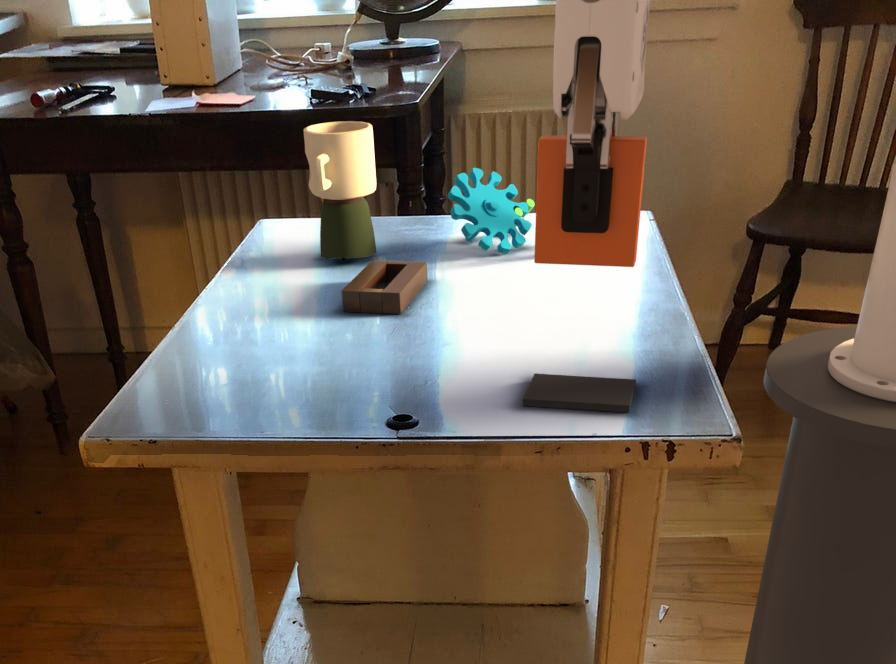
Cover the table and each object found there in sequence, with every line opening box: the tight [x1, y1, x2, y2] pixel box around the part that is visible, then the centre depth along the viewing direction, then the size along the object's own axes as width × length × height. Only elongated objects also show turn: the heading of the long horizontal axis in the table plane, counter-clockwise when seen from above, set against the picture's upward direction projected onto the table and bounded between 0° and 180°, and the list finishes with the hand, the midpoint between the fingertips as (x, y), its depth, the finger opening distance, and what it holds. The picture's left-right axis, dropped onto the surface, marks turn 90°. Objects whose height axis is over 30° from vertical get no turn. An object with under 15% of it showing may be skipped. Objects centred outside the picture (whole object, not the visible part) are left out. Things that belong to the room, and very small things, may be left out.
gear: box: [447, 167, 536, 255], centre depth 108 cm, size 11×6×10 cm
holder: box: [340, 259, 429, 315], centre depth 96 cm, size 6×10×2 cm, turn 164°
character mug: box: [303, 120, 378, 263], centre depth 103 cm, size 11×7×13 cm, turn 158°
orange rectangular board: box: [533, 134, 648, 268], centre depth 67 cm, size 1×7×8 cm, turn 74°
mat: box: [522, 373, 637, 414], centre depth 75 cm, size 8×5×1 cm, turn 74°
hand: (587, 225), depth 67 cm, fingers closed on orange rectangular board, 1 cm apart
